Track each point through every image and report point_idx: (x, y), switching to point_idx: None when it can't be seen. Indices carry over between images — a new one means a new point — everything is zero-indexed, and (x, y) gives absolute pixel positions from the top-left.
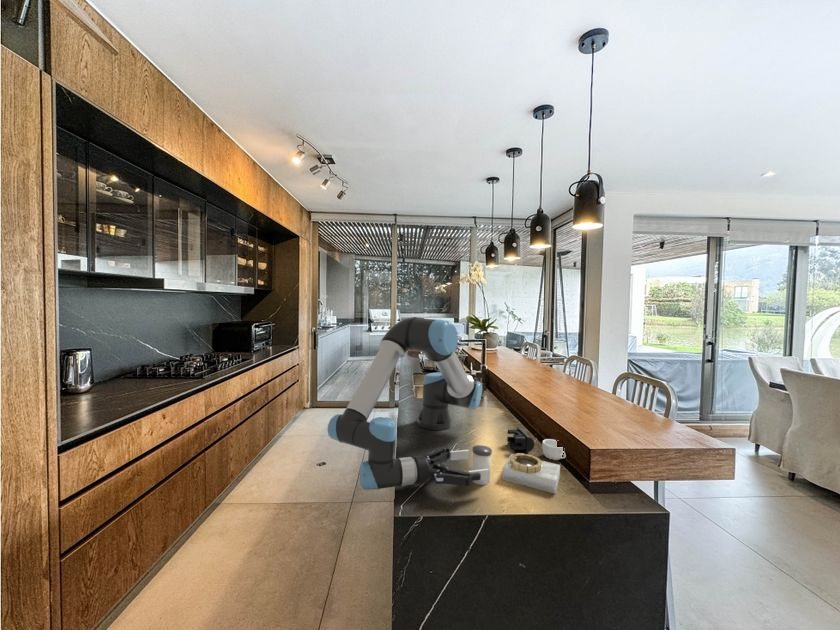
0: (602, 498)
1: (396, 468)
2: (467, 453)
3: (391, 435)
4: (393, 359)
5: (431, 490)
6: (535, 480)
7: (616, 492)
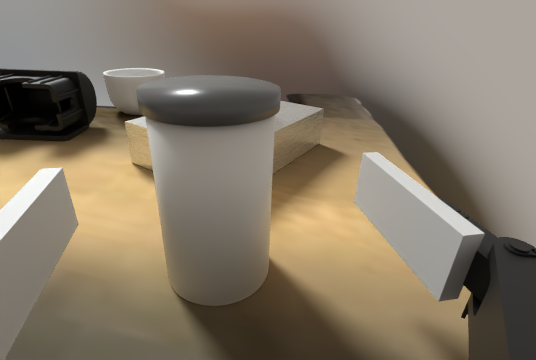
0: (325, 113)
1: None
2: (63, 195)
3: None
4: None
5: None
6: (296, 136)
7: (301, 102)
